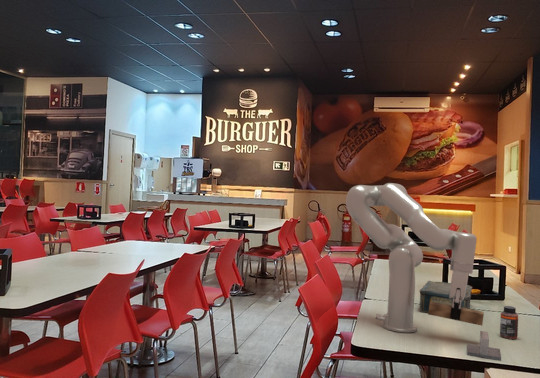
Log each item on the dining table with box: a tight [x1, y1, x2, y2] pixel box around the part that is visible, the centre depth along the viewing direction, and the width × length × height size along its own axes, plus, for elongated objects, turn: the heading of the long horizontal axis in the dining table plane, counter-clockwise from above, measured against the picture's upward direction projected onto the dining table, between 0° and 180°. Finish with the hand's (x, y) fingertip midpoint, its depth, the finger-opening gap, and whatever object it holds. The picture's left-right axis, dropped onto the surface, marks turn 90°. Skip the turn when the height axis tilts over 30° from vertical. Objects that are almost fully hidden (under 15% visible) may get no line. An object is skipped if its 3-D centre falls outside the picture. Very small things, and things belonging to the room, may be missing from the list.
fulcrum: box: [466, 330, 502, 362], centre depth 161 cm, size 10×10×6 cm
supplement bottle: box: [499, 305, 519, 340], centre depth 182 cm, size 6×6×11 cm
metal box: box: [419, 280, 473, 314], centre depth 225 cm, size 21×32×10 cm, turn 156°
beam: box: [427, 301, 484, 327], centre depth 175 cm, size 18×4×4 cm, turn 67°
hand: (455, 317), depth 175 cm, fingers closed on beam, 4 cm apart
